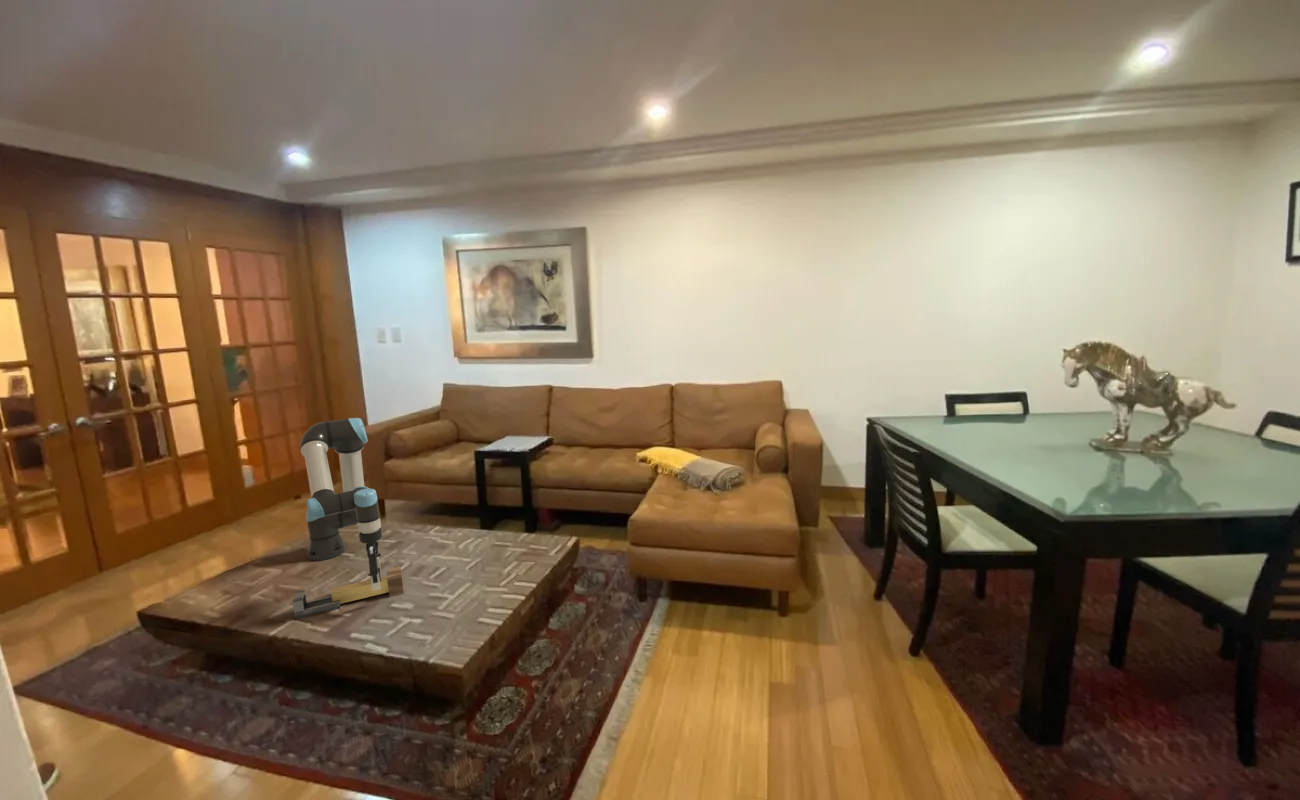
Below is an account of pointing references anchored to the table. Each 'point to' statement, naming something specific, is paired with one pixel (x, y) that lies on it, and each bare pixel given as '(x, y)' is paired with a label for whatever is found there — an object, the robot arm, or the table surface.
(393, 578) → the socket
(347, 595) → the tan wooden bar
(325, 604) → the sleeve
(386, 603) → the table surface
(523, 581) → the table surface
